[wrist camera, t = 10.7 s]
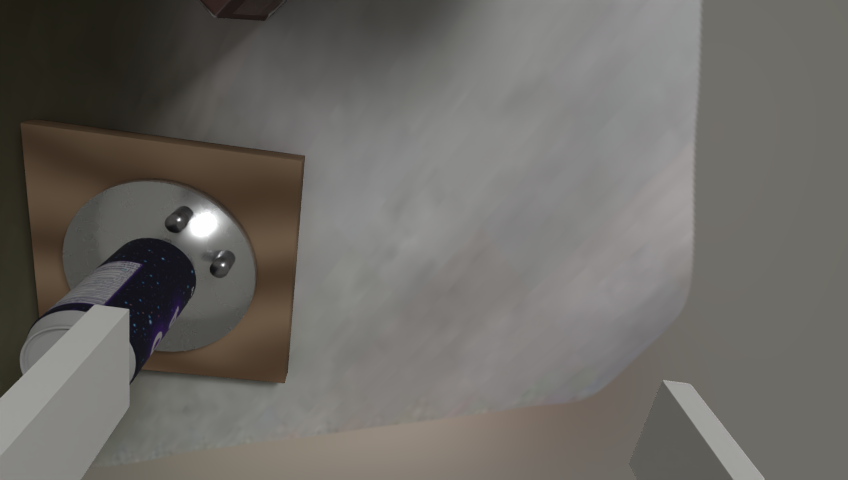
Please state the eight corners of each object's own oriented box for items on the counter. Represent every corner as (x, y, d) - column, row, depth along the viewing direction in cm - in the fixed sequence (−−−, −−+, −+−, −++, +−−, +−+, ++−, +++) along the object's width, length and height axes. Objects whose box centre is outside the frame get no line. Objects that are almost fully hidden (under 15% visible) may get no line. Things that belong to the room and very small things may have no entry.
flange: (63, 165, 39) (38, 177, 36) (262, 191, 40) (252, 204, 37) (76, 334, 43) (54, 357, 40) (253, 352, 44) (244, 375, 42)
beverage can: (113, 296, 41) (9, 403, 30) (120, 224, 39) (12, 308, 28) (194, 314, 42) (122, 424, 31) (205, 243, 40) (133, 333, 29)
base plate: (33, 118, 39) (20, 122, 37) (304, 155, 41) (301, 161, 39) (54, 349, 45) (43, 359, 44) (287, 372, 47) (284, 383, 46)
